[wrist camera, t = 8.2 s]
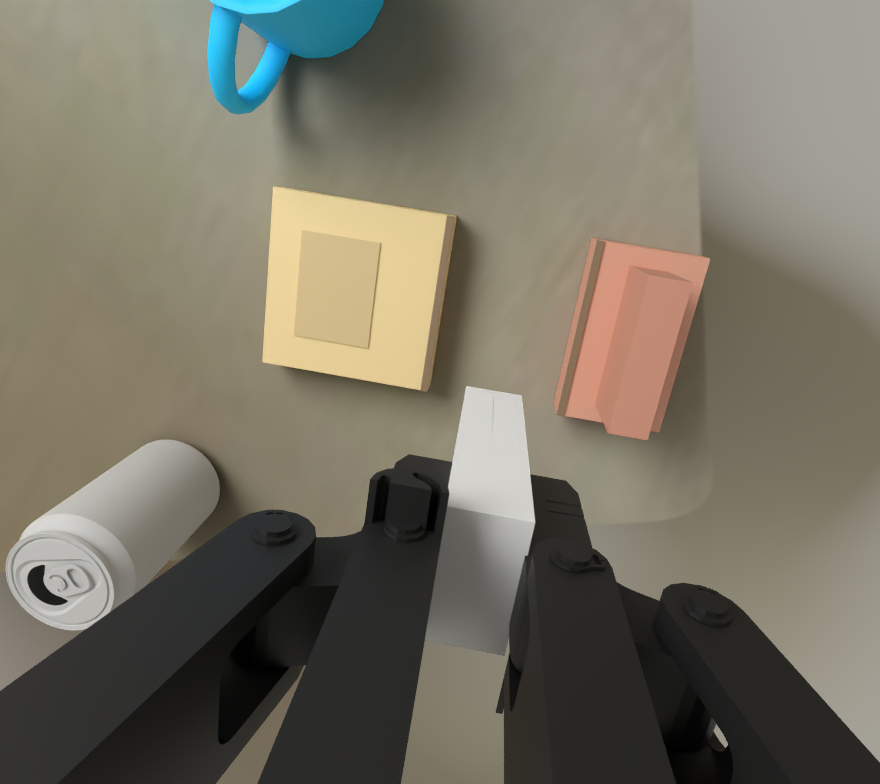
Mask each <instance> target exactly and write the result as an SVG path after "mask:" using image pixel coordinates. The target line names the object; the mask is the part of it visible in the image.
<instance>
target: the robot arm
mask: <svg viewBox="0 0 880 784" xmlns="http://www.w3.org/2000/svg"><path fill="white" fill-rule="evenodd" d="M508 638H510V639H509V642H510V653H509V658H508V662H507V666H506V671H505V675H504V679H503V683H502V688H501V692H500V697H499V700H498V705H497V709H496V713H500V714H502V713H503V709H504V784H880V762H879V761H878V760H877V759H876V758H875V757H874V756H873V755H872V754H871V752H870V751H869V750H868V749H867V748H866V747H865V746H864V745H863V744H862V743H861V742H860V740H859V739H858V738H857V737H856V736H855V735H854V733H853V732H852V731H851V730H850V729H849V728H848V727H847V726H846V725H845V723H844V722H843V721H842V720H841V719H840V718H839V717H838V716H837V715H836V713H835V712H834V711H833V710H832V709H831V708H830V707H829V706H828V705H827V703H826V702H825V701H824V700H823V699H822V698H821V697H820V696H819V694H818V693H817V692H816V691H815V690H814V689H813V688H812V687H811V686H810V684H809V683H808V682H807V681H806V680H805V679H804V678H803V677H802V676H801V674H800V673H799V672H798V671H797V670H796V669H795V668H794V667H793V665H792V664H791V663H790V662H789V661H788V660H787V659H786V658H785V657H784V655H783V654H782V653H781V652H780V651H779V650H778V649H777V648H776V647H775V645H774V644H773V643H772V642H771V641H770V640H769V639H768V638H767V637H766V635H765V634H764V633H763V632H762V631H761V630H760V629H759V628H758V626H757V625H756V624H755V623H754V622H753V621H752V620H751V619H750V617H749V616H748V615H747V614H746V613H745V612H744V611H743V610H742V609H741V608H739V607H738V606H737V605H736V604H735V603H734V602H733V601H731V600H730V599H728V598H726V597H724V596H723V595H721V594H719V593H718V592H717V591H714V590H712V589H710V588H709V589H708V588H706V587H704V586H700V585H693V584H687V583H679V584H671V585H669V586H668V587H666V588H665V589H663V592H662V595H661V599H660V601H658V600H656V599H653V598H650V597H648V596H645V595H643V594H640V593H637V592H635V591H633V590H631V589H628V588H626V587H624V586H622V585H621V584H619V583H617V582H616V579H615V576H614V573H613V569H612V567H611V565H610V564H609V562H608V560H607V559H606V558H605V557H604V556H603V555H601V554H600V553H599V552H598V551H597V550H595V549H593V548H592V545H591V541H590V537H589V534H588V530H587V526H586V522H585V519H584V514H583V511H582V509H581V503H580V499H579V495H578V493H577V492H576V491H575V490H574V489H573V488H572V487H571V486H570V485H569V484H568V483H567V482H566V481H564V480H559V479H553V478H547V477H542V476H536V475H531V474H530V468H529V459H528V450H527V440H526V431H525V421H524V412H523V403H522V396H521V395H515V394H509V393H503V392H498V391H492V390H486V389H480V388H475V387H469V386H466V391H465V396H464V402H463V407H462V413H461V418H460V424H459V429H458V435H457V440H456V446H455V451H454V457H453V462H449V461H443V460H438V459H432V458H427V457H421V456H415V455H410V454H409V455H407V456H406V457H404V458H402V459H401V460H399V461H398V462H396V464H395V467H394V468H392V469H386V470H383V471H380V472H378V473H376V474H375V475H374V476H373V477H372V478H371V479H370V485H369V493H368V501H367V509H366V517H365V523H364V526H363V528H362V531H360V532H358V533H355V534H352V535H347V536H341V537H316V532H315V527H314V525H313V524H312V523H311V522H310V521H309V520H308V519H307V518H305V517H303V516H301V515H299V514H297V513H292V512H287V511H284V510H265V511H261V512H256V513H251V514H249V515H247V516H245V517H243V518H241V519H239V520H237V521H236V522H235V523H233V524H232V525H230V526H229V527H228V528H226V529H225V530H223V531H222V532H221V533H219V534H218V535H216V536H215V537H214V538H212V539H211V540H209V541H208V542H207V543H205V544H204V545H203V546H201V547H200V548H198V549H197V550H196V551H194V552H193V553H191V554H190V555H189V556H187V557H186V558H184V559H183V560H182V561H180V562H179V563H178V564H176V565H175V566H173V567H172V568H171V569H169V570H168V571H166V572H165V573H164V574H162V575H161V576H159V577H158V578H157V579H155V580H154V581H152V582H151V583H150V584H148V585H147V586H146V587H144V588H143V589H141V590H140V591H139V592H137V593H136V594H134V595H133V596H132V597H130V598H129V599H127V600H126V601H125V602H123V603H122V604H120V605H119V606H118V607H116V608H115V609H114V610H112V611H111V612H109V613H108V614H107V615H105V616H104V617H102V618H101V619H100V620H98V621H97V622H95V623H94V624H93V625H91V626H90V627H88V628H87V629H86V630H84V631H83V632H82V633H80V634H79V635H77V636H76V637H75V638H73V639H72V640H70V641H69V642H68V643H66V644H65V645H63V646H62V647H61V648H59V649H58V650H57V651H55V652H54V653H52V654H51V655H50V656H48V657H47V658H46V659H44V660H43V661H41V662H40V663H39V664H37V665H36V666H34V667H33V668H31V669H30V670H29V671H27V672H26V673H25V674H23V675H22V676H20V677H19V678H18V679H16V680H15V681H13V682H12V683H11V684H10V685H8V686H6V687H5V688H4V689H2V690H1V691H0V784H216V783H217V781H218V780H219V779H220V777H221V776H222V775H223V774H224V772H225V771H226V770H227V768H228V767H229V766H230V764H231V763H232V762H233V761H234V759H235V758H236V757H237V756H238V754H239V753H240V752H241V751H242V749H243V748H244V747H245V745H246V744H247V743H248V741H249V740H250V739H251V738H252V736H253V735H254V734H255V733H256V731H257V730H258V729H259V727H260V726H261V724H263V722H264V721H265V720H266V718H267V717H268V716H269V714H270V713H271V712H272V711H273V709H274V708H275V707H276V706H277V704H278V703H279V702H280V700H281V699H282V698H283V697H284V695H285V694H286V693H287V691H288V690H289V689H290V688H291V686H292V685H293V684H294V682H295V681H296V680H297V679H298V677H299V675H300V673H301V671H302V668H303V665H306V667H305V669H304V672H303V674H302V677H301V679H300V681H299V684H298V686H297V689H296V691H295V694H294V696H293V698H292V701H291V703H290V706H289V708H288V711H287V713H286V716H285V718H284V721H283V723H282V725H281V728H280V730H279V732H278V735H277V737H276V740H275V742H274V745H273V747H272V750H271V752H270V754H269V757H268V760H267V762H266V764H265V767H264V769H263V771H262V774H261V777H260V779H259V781H258V784H401V778H402V773H403V767H404V761H405V755H406V749H407V743H408V737H409V731H410V724H411V719H412V712H413V707H414V701H415V694H416V689H417V683H418V677H419V671H420V665H421V659H422V653H423V647H424V641H431V642H436V643H441V644H446V645H452V646H456V647H462V648H466V649H472V650H477V651H482V652H487V653H493V654H497V655H503V656H504V655H505V651H506V647H507V643H508ZM716 724H717V725H718V727H719V728H720V730H721V731H722V733H723V734H724V736H725V738H726V740H727V742H728V746H727V747H726V748H725V747H724V746H723V745H722V744H721V742H720V741H719V739H718V738H717V736H716V735H715V733H714V732H713V731H714V728H715V726H716Z"/></svg>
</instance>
